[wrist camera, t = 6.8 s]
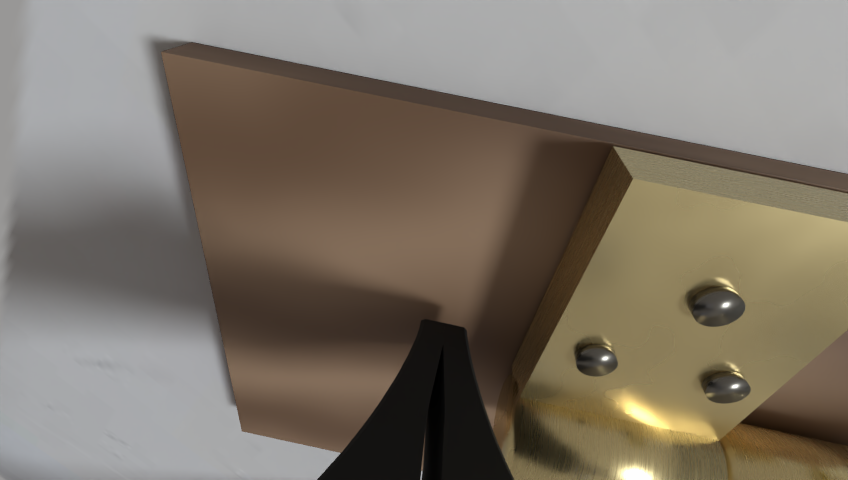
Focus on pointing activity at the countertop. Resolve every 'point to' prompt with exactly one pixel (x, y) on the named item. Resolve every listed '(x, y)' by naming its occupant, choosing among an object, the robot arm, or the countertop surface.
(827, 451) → the fixed leaf
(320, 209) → the walnut board
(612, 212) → the plate
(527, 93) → the countertop surface
